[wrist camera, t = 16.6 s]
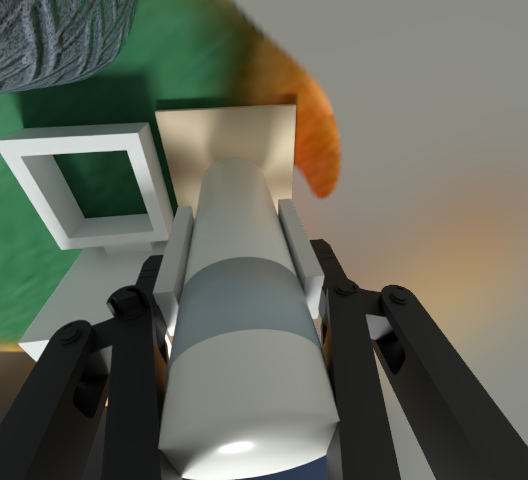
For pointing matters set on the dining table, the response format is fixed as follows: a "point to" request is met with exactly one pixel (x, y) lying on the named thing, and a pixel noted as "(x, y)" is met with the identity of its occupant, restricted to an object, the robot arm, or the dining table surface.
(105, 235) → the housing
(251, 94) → the dining table surface
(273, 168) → the coaster
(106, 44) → the vase
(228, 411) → the cylinder
